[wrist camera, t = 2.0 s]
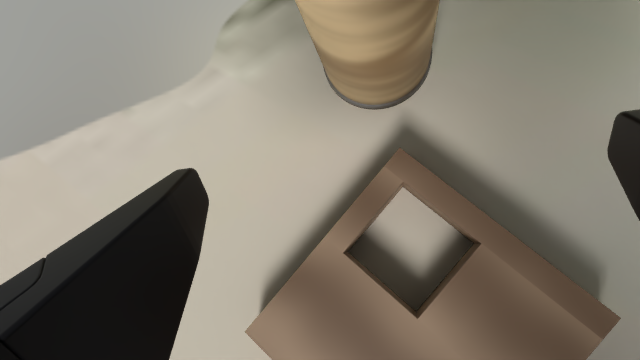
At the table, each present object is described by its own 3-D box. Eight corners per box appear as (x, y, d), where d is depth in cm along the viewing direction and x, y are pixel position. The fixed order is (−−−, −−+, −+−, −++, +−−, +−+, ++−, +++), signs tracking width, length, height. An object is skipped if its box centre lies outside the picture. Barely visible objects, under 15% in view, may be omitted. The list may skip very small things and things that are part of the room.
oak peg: (384, 139, 23) (367, 10, 10) (310, 81, 24) (212, -97, 11) (449, 61, 23) (514, -166, 10) (371, 8, 24) (341, -252, 11)
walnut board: (435, 502, 20) (439, 530, 18) (258, 324, 22) (244, 331, 21) (599, 310, 20) (621, 318, 18) (399, 155, 22) (399, 147, 20)
